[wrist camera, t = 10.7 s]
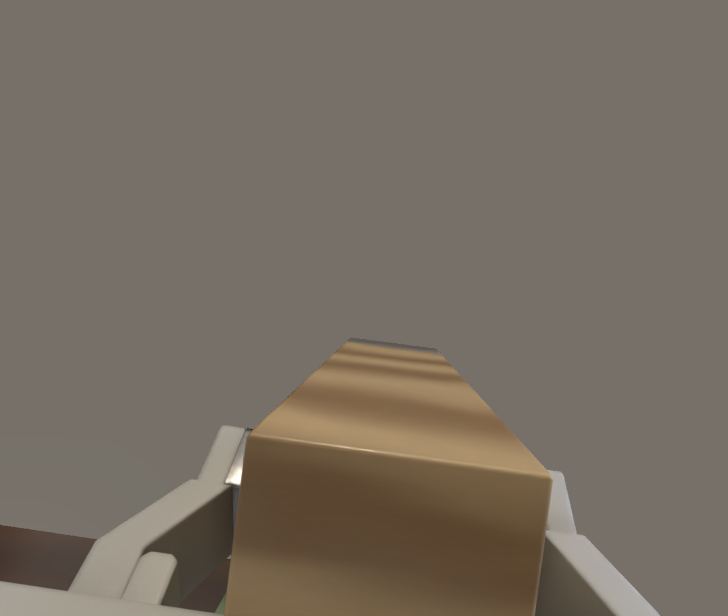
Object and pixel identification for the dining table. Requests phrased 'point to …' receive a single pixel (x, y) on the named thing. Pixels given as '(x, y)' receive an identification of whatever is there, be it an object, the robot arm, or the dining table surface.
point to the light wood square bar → (387, 497)
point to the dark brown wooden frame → (67, 554)
